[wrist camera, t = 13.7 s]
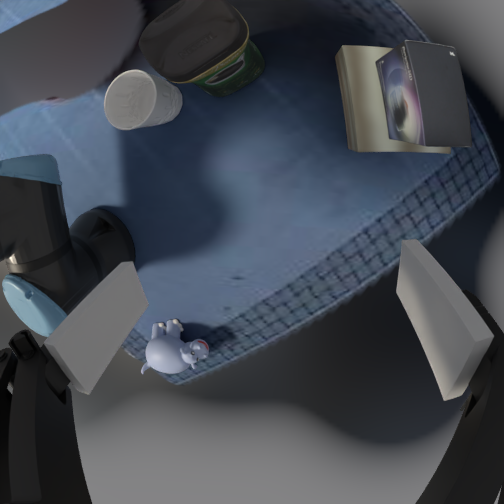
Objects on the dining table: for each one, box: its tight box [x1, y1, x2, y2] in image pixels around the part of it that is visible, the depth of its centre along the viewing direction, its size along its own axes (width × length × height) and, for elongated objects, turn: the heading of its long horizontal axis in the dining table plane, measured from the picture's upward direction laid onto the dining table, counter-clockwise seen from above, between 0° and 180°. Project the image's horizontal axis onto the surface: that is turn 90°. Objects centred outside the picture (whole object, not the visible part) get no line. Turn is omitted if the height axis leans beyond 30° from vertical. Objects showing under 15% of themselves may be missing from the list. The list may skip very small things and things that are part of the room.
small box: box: [375, 40, 472, 147], centre depth 21 cm, size 11×6×10 cm, turn 11°
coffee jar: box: [139, 0, 265, 97], centre depth 24 cm, size 10×8×19 cm
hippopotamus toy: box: [141, 319, 209, 374], centre depth 51 cm, size 11×15×10 cm
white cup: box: [104, 70, 183, 130], centre depth 31 cm, size 8×8×10 cm
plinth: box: [335, 45, 451, 154], centre depth 28 cm, size 14×14×6 cm
